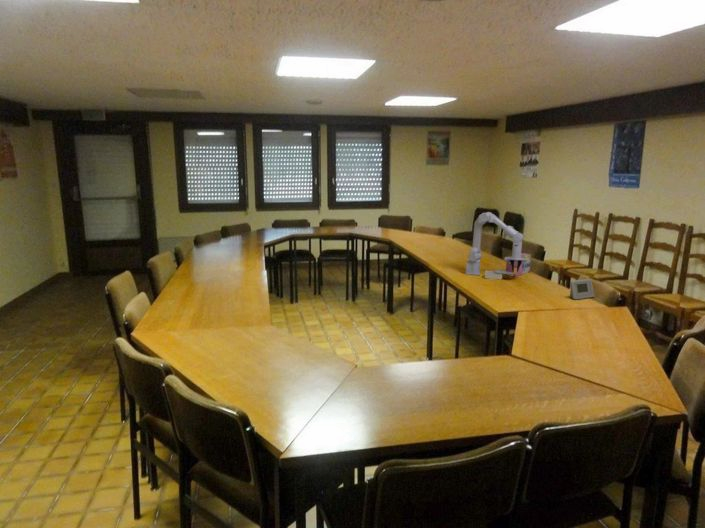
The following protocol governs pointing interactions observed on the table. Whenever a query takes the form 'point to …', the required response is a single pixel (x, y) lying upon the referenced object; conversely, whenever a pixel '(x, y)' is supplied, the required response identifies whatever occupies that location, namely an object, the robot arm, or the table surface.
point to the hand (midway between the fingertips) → (515, 271)
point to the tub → (492, 275)
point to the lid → (506, 271)
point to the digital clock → (581, 289)
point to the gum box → (523, 267)
